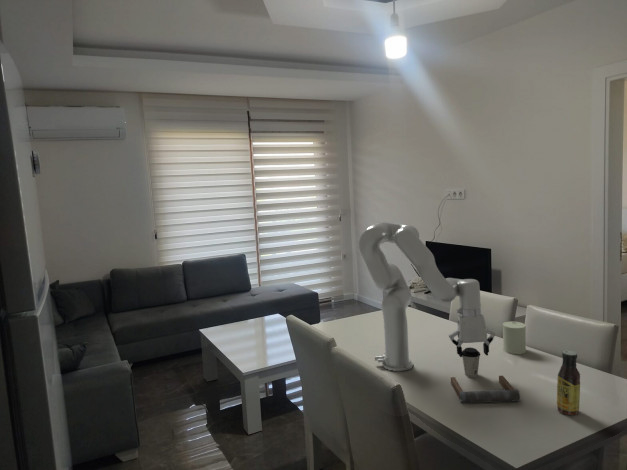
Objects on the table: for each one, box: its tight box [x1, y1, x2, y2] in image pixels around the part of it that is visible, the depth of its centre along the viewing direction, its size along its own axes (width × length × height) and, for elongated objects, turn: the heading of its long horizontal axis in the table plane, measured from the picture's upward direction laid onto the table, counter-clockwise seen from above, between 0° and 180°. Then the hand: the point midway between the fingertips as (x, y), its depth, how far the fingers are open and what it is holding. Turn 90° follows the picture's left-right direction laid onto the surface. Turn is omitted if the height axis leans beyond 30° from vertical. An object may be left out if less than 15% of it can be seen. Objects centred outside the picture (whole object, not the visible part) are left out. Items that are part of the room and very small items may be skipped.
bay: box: [450, 375, 521, 404], centre depth 155 cm, size 19×16×4 cm
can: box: [502, 320, 527, 355], centre depth 191 cm, size 9×9×12 cm
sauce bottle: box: [556, 349, 581, 416], centre depth 139 cm, size 7×6×20 cm
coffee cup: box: [461, 347, 481, 378], centre depth 170 cm, size 7×7×10 cm
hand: (473, 355), depth 169 cm, fingers open, 9 cm apart
